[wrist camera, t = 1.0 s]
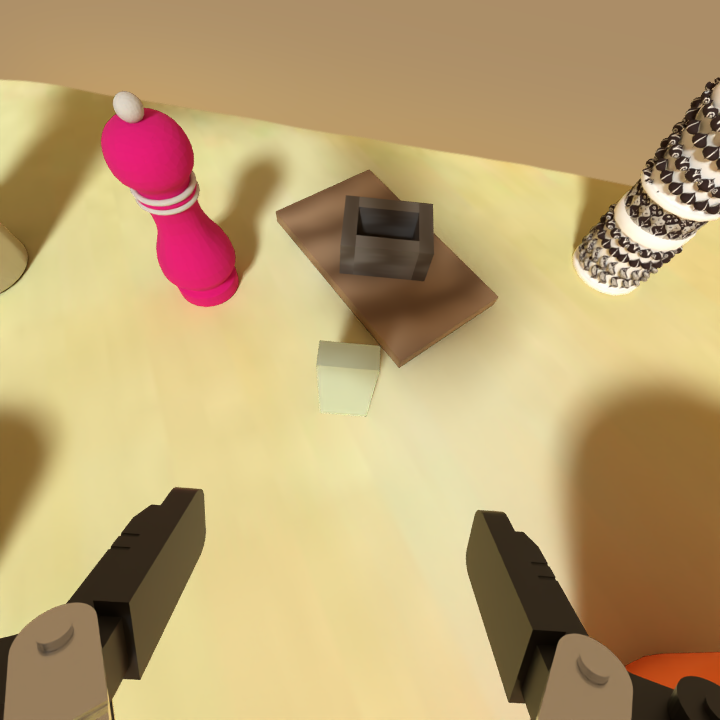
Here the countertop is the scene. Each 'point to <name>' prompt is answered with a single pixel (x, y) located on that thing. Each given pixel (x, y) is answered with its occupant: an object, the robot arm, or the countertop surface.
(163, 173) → the pepper mill
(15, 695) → the robot arm
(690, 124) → the decorative candle
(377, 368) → the slat
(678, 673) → the flowerpot
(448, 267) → the brown piece
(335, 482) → the countertop surface
